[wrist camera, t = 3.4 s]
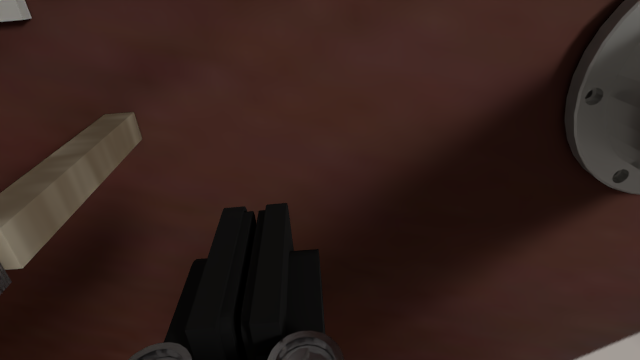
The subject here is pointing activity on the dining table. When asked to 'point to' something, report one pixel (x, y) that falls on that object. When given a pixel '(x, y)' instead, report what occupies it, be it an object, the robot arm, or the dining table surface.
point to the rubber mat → (13, 10)
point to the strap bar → (4, 279)
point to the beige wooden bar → (61, 186)
